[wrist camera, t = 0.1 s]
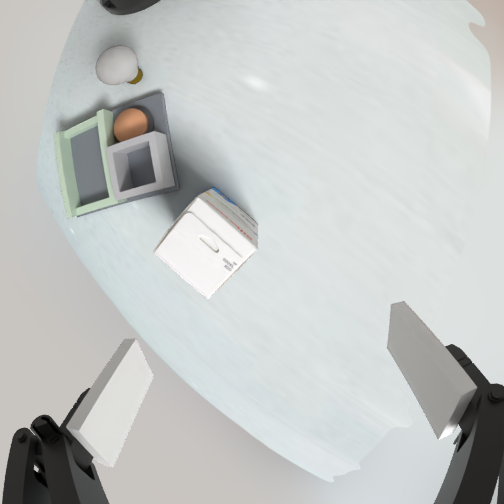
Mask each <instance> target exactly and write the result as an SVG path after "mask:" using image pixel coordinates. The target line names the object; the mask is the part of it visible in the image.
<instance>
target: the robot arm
mask: <svg viewBox="0 0 504 504" xmlns="http://www.w3.org/2000/svg"><path fill="white" fill-rule="evenodd" d="M158 1H160V0H100V3H101V5H102V6H103V7H104V8H105V9H106V10H107V11H109V12H110V13H112V14H116V15H126V14H132V13H135V12H138V11H141V10H143V9H146V8H148V7H150V6H152V5H154V4H155V3H157V2H158ZM387 349H388V350H389V352H390V353H391V355H392V357H393V358H394V360H395V362H396V364H397V365H398V367H399V369H400V370H401V372H402V374H403V375H404V377H405V379H406V381H407V382H408V384H409V386H410V388H411V389H412V391H413V393H414V395H415V397H416V398H417V400H418V402H419V404H420V405H421V408H422V409H423V411H424V413H425V415H426V417H427V419H428V421H429V423H430V424H431V426H432V428H433V431H434V433H435V434H436V436H437V438H438V440H439V439H441V438H443V437H445V436H448V435H450V434H452V433H453V432H454V431H455V429H456V427H457V426H458V424H459V426H460V428H461V429H462V430H461V432H460V433H459V435H458V436H457V438H456V439H455V441H454V443H453V444H456V443H457V444H456V448H455V451H454V454H453V457H452V460H451V463H450V466H449V469H448V472H447V474H446V477H445V479H444V482H443V484H442V486H441V489H440V491H439V493H438V496H437V498H436V500H435V502H434V504H490V503H491V500H492V496H493V494H494V490H495V487H496V483H497V479H498V476H499V485H498V498H497V504H504V386H503V385H500V384H490V383H489V382H488V380H487V379H486V378H485V376H484V375H483V374H482V373H481V372H480V370H479V369H478V368H477V367H476V366H475V365H474V363H472V361H471V360H470V359H469V358H467V355H466V354H465V353H464V352H463V351H462V350H461V349H460V348H458V347H457V346H455V345H453V344H451V345H448V346H444V345H443V344H442V343H441V342H440V340H439V339H438V338H437V337H436V336H435V335H434V334H433V332H432V331H431V330H430V329H429V328H428V327H427V326H426V324H425V323H424V322H423V321H422V320H421V319H420V318H419V317H418V316H417V315H416V313H415V312H414V311H413V310H412V309H411V308H410V307H409V306H408V305H407V304H406V303H405V302H404V301H403V302H398V303H394V304H391V312H390V324H389V335H388V344H387ZM153 377H154V376H153V374H152V372H151V370H150V368H149V366H148V364H147V362H146V359H145V357H144V355H143V353H142V351H141V349H140V346H139V344H138V342H137V339H124V341H123V342H122V344H121V345H120V346H119V348H118V349H117V351H116V352H115V353H114V355H113V356H112V358H111V359H110V361H109V362H108V363H107V365H106V366H105V368H104V369H103V371H102V372H101V374H100V375H99V377H98V378H97V380H96V381H95V383H94V384H93V386H92V387H91V388H88V389H87V390H86V391H84V392H83V393H82V394H81V395H80V397H79V398H78V400H77V403H75V404H74V406H73V408H72V409H71V410H70V412H69V413H68V415H67V417H66V418H65V420H64V421H63V423H62V424H61V426H60V427H58V425H57V424H56V423H55V421H54V420H53V419H52V418H51V417H50V416H49V415H41V416H39V417H37V418H36V419H35V420H34V421H33V422H32V424H31V428H30V429H31V430H32V431H33V432H34V434H35V435H34V434H33V433H32V432H31V431H30V430H29V429H28V428H21V429H19V430H17V431H16V433H15V434H14V436H13V439H12V444H11V448H10V453H9V458H8V463H7V468H6V475H5V482H4V491H3V500H2V504H109V502H108V500H107V497H106V495H105V492H104V490H103V487H102V485H101V482H100V480H99V477H98V474H97V471H96V468H95V466H94V464H93V463H92V462H91V461H92V459H93V457H94V458H95V459H96V460H97V461H98V462H99V463H100V464H102V465H105V466H109V467H113V468H114V466H115V463H116V461H117V458H118V456H119V454H120V451H121V449H122V446H123V444H124V442H125V440H126V437H127V434H128V433H129V430H130V428H131V426H132V424H133V421H134V419H135V417H136V415H137V412H138V410H139V408H140V406H141V403H142V401H143V399H144V397H145V395H146V393H147V390H148V388H149V386H150V384H151V382H152V380H153ZM34 465H35V466H37V467H38V468H39V471H38V472H36V471H35V470H34Z"/></svg>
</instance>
